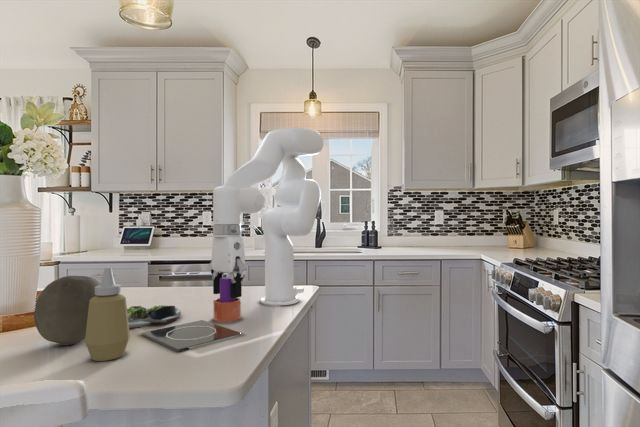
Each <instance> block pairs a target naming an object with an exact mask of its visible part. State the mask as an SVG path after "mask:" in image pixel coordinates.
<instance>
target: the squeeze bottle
mask: <svg viewBox="0 0 640 427" xmlns="http://www.w3.org/2000/svg"><path fill="white" fill-rule="evenodd" d="M100 283H101V285H99V286H96V287H95V295H97V296H95V297H93V298H92V299H91V300H89V309H88V318H87V327H86V336H85V339H84V343H85V346H86V349H87V351H88V353H89V356H90V358H91V360H92V361H96V362H103V361H111V360H116V359H119V358H121V357H123V356H124V354H125V352H126V348H127V346H128V343H129V340H130V337H131V334H130V328H129V323H128V314H127V309H128V305H127V297H126V296H125V295H124V294H122V285H121V284H120V283H119V284H118V283H116V282H115V277H114V273H113V269H112V267H110V266H108V267H104V269H103V274H102V277H101V281H100Z"/></svg>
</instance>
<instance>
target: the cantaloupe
mask: <svg viewBox="0 0 640 427" xmlns="http://www.w3.org/2000/svg"><path fill="white" fill-rule="evenodd" d="M99 285H101V281H98V279H95V278H94V277H92V276H91V277H90V276H87V275H66V276H62V277H59V278H58V279H54V280H53V281H51V282H50V283H48V284H47V285H46V286H45V287H44V289H43V290H42V291H41V293H40V294H39V296H38V297H37V299H36V301H35V305H34V306H35V307H34V313H33V319H34V320H33V321H34V325H35V327H36V329H37V331H38V333H39V335H40V336H41V337H42V338H43V339H44V340H46V341H49V342H52V343H56V344H59V345H61V346H71V345H75V344H77V343H80V342H82V341H85V336H86V327H87V318H88V309H89V300H91V299H92V298H93V297H95V296H97V295H95V287H96V286H99Z"/></svg>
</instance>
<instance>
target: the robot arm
mask: <svg viewBox="0 0 640 427" xmlns="http://www.w3.org/2000/svg"><path fill="white" fill-rule="evenodd" d="M323 148H324V137H323V135H322V134H321V133H320V132H319V131H318V130H316V129H312V128H311V129H310V128H304V127H287V128H277V129H272V130H270V131H268V132H267V133H266V134H265V136H264V137H263V140H262V141H261V142H260V144H259V146H258V147H257V150H256V151H255V153H254V155H253V156H252V158H251V159H250V160H249V161H247V162H246V163H244V164H243V165H242V166H240V167H239V168H237V169H236V170H235V171H234V172H232V173H231V174H230V175H229V176H228V177H227V179H225V181H224V183H223V184H222V185H221V186H220V185H219V186H216V187H214V189H213V191H212V237H213V238H212V246H211V261H210V262H209V263H208V267H209V269H210V273H211V275H212V276H211V279H212V280H213V281H212V282H213V283H212V291H213V292H212V294H213V295H220V278H223V277H224V275H225V274H229V277H231V280H232V283H230V297H231V298H241V297H242V296H243V295H242V292H243V291H242V286H243V285H242V284H243V282H244V278H245V275H246V273H247V270H248V268H247V267H246V255H245V245H244V238H243V236H242V214H255V213H258V212H260V211H262V210H263V209H264V207H265V205H266V198H265V195H264V193H263V192H262V191H261V189H259V188H257V187H253V185H256V184H258V183H261V182H264V181H266V180H268V179H270V178H272V177H273V176H274V175H275V174H276V173H277V170H278V169H279V167H280V165H281V163H282V171H281V175H280V178H279V181H278V184H277V187H276V190H275V193H274V200H275V201H274V202H275V203H276V204H277V205H278V206H274V207H273V206H272V207H270V208H268V209H266V210H265V211H264V212H263V214H262V217H261V227H262V231H263V238H264V296H263V297H261V298H260V303H261V304H264V305H271V306H291V305H295V304H297V303H299V297H298V296H297V295H298V294H303V293H304V292H305V289H304V287H302V286H301V287H300V286H299V287H297V286H295V283H294V282H295V280H294V279H295V278H294V277H295V273H294V270H295V268H294V265H295V264H294V262H295V260H294V259H295V258H294V257H295V256H294V254H295V252H294V250H295V249H294V246H293V243H292V241H291V239H290V237H303V236H307V235H309V234H310V233H311V232H312V230H313V227H314V224H315V220H316V217H317V213H318V210H319V207H320V203H321V194H322V193H321V188H320V185H319V183H318V182H317V181H316V180H314V179H309V178H306V177H307V169H306V167H305V165H304V164H303V162H302V161H301V160H300V158H299V157H305V156H315V155H318V154H320V153H321V152H322V151H323Z"/></svg>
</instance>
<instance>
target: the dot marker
mask: <svg viewBox="0 0 640 427" xmlns="http://www.w3.org/2000/svg"><path fill="white" fill-rule="evenodd" d="M230 283H232V280H231V277H230V276H225V277H224V276H223V278H220V294H219V298H220V302H235V298H231V297H230Z"/></svg>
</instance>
